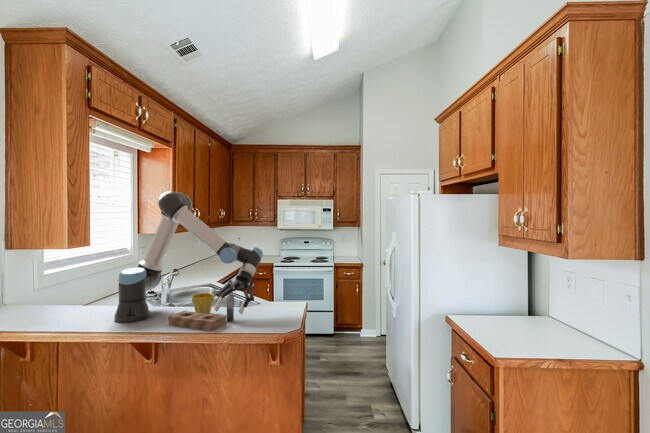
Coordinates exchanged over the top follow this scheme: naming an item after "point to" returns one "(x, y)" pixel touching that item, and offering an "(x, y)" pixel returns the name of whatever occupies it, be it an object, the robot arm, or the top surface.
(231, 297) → the metal pin
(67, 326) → the top surface
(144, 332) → the top surface
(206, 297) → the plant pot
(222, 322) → the walnut block
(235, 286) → the robot arm
